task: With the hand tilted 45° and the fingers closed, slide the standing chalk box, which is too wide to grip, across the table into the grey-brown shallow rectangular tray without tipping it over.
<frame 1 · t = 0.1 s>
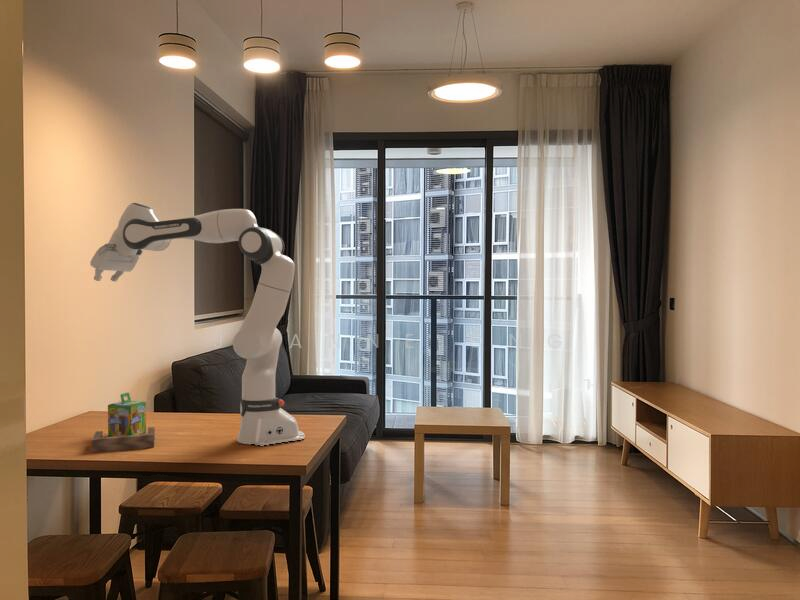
hand: (105, 280, 208), 54 cm above the table, tool tilted 30°, fingers open, 8 cm apart
chalk box: (127, 436, 208), on the table
grey-brown shallow rectangular tray: (124, 444, 196), on the table
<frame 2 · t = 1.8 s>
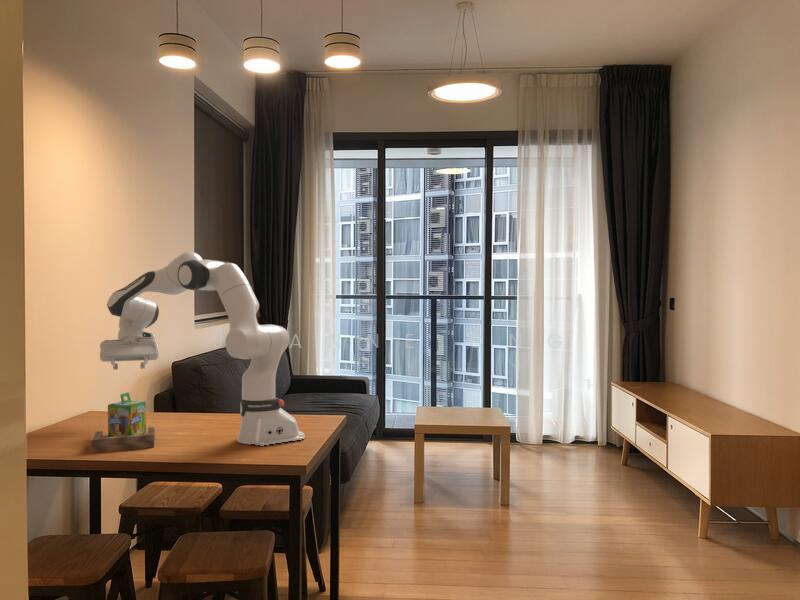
hand: (129, 368, 221), 22 cm above the table, tool tilted 45°, fingers open, 8 cm apart
nothing on the table moved.
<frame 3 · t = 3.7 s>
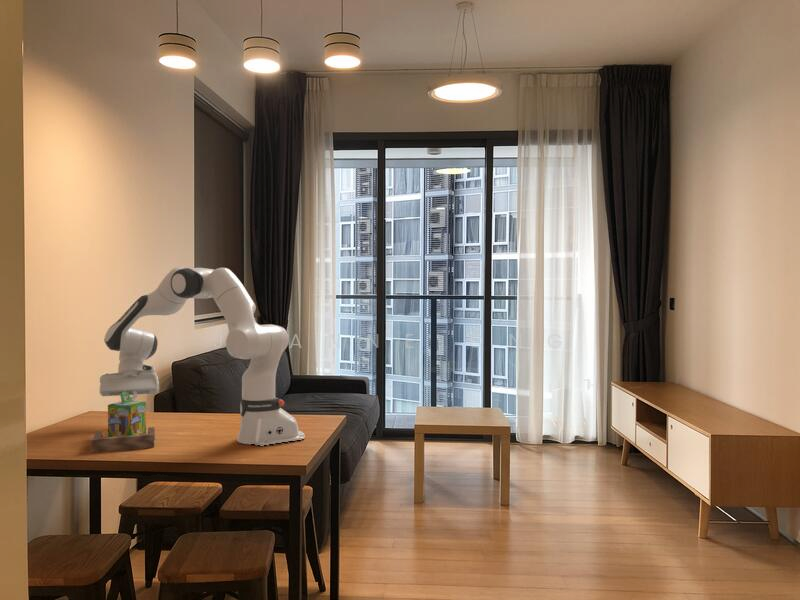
hand: (129, 403, 218), 9 cm above the table, tool tilted 45°, fingers closed
nothing on the table moved.
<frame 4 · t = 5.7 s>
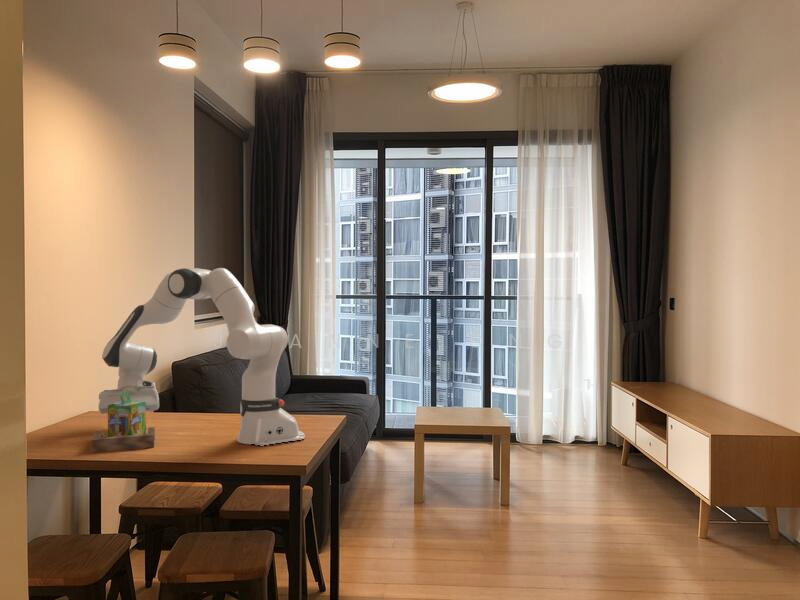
hand: (128, 420, 213), 4 cm above the table, tool tilted 45°, fingers closed
chalk box: (127, 436, 207), on the table, touching gripper
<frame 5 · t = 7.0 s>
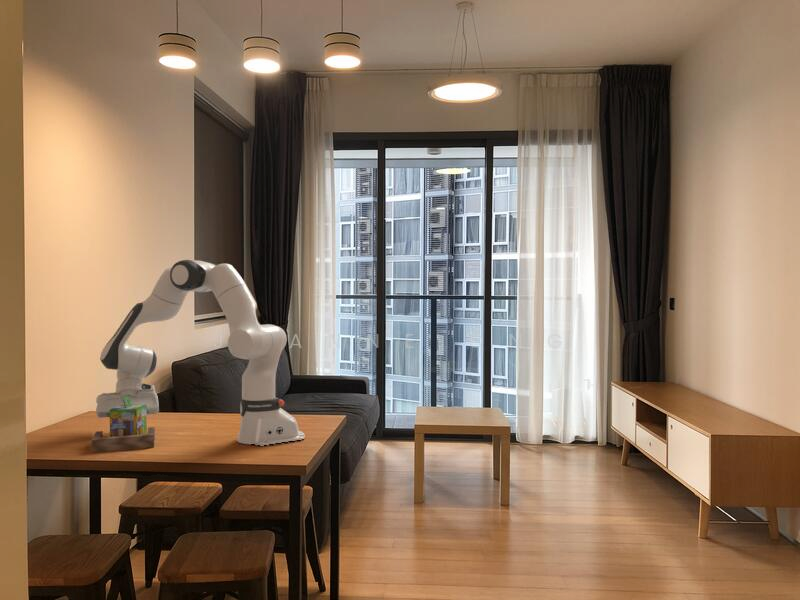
hand: (127, 424, 206), 4 cm above the table, tool tilted 45°, fingers closed
chalk box: (129, 441, 200), on the table, touching gripper
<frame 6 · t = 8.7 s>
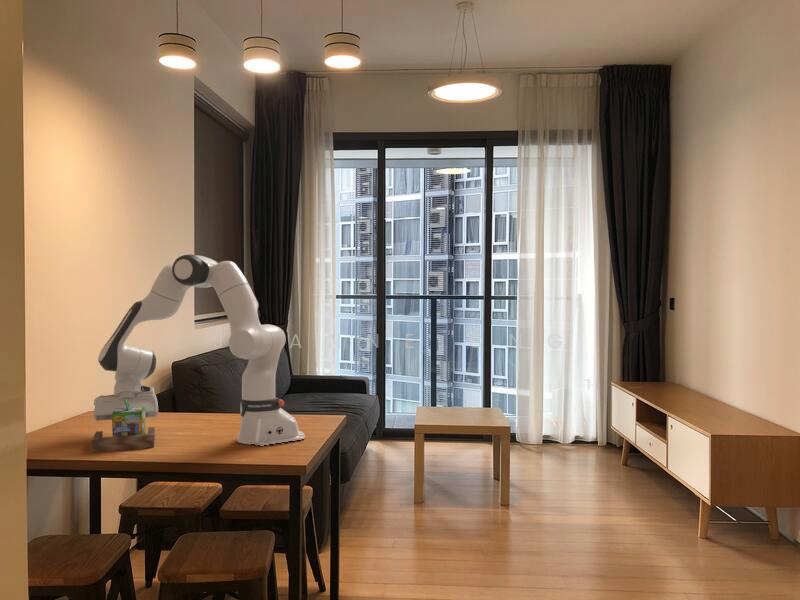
hand: (125, 427, 200), 4 cm above the table, tool tilted 45°, fingers closed
chalk box: (129, 444, 196), on the table, touching gripper
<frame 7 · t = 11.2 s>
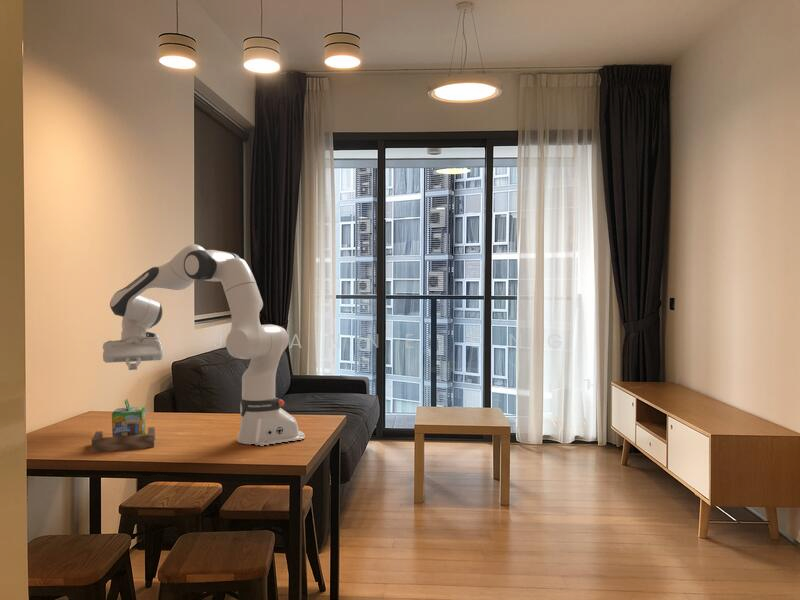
hand: (132, 368, 216), 22 cm above the table, tool tilted 45°, fingers closed
chalk box: (129, 445, 196), on the table
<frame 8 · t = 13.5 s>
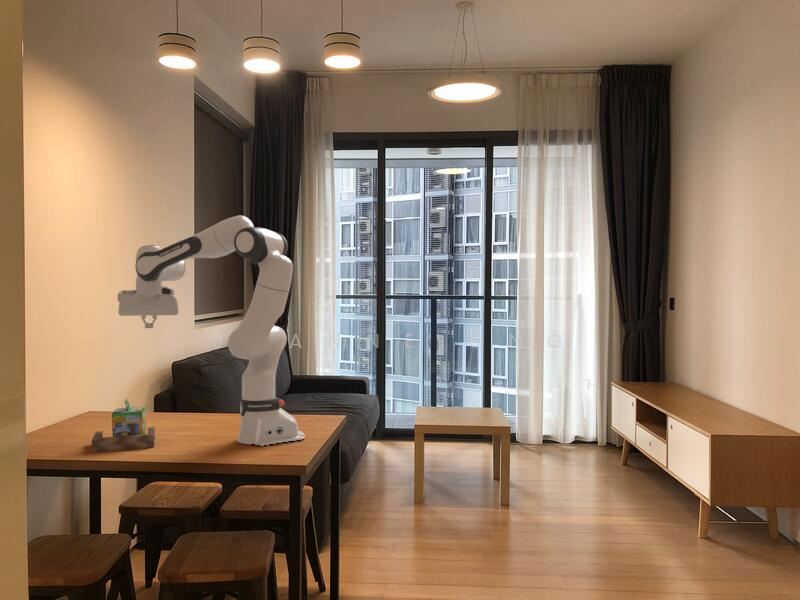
hand: (149, 328, 216), 37 cm above the table, tool pointing down, fingers closed
nothing on the table moved.
at the end: chalk box 1.8 cm off-centre on the grey-brown shallow rectangular tray, point 0.0 cm above the grey-brown shallow rectangular tray's base; chalk box tilted 0°; chalk box moved 13.5 cm from its start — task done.
